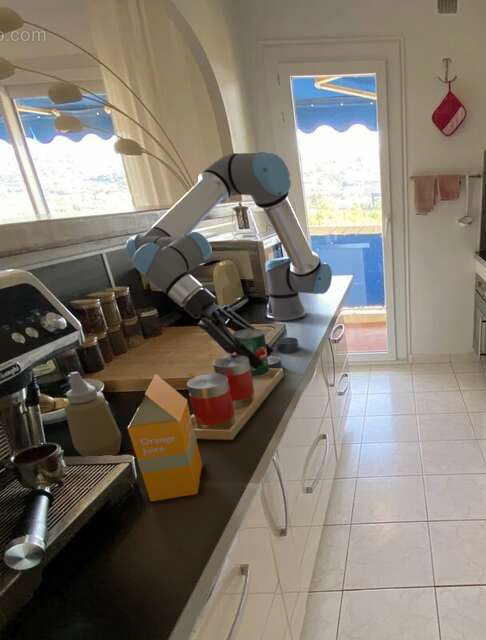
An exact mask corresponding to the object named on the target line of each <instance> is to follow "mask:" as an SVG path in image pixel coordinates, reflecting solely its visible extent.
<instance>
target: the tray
mask: <svg viewBox="0 0 486 640" xmlns="http://www.w3.org/2000/svg"><path fill="white" fill-rule="evenodd" d="M284 376H285V375H284V369H283V368H282V369H271V368H269V373H267V374H266V375H264V376H260V377H255V378H252V381H253V387H254V394H255V400H254V401H253V402H252V403H251V405H250V406H248V407H245V408H241V409H234V415H235V420H236V422H235V424H234V425H233V426H232V427H231V428H230V429H229V430H216V429H198V428H197V424H196V421H195V417H194V413H193V414H192V415H190V416H191V420H192V424H193V428H194V432H195V436H196V439H197V440H199V439H200V440H201V439H203V440H228V441H229V440H230V441H232V440H234V438H235V437H236V436H237V434H238V433H239V432H240V431H241V429H243V427H244V426H245V425H246V424H247V422H248V421H249V420H250V419H251V417H252V416H253V414H254V413H255V412H256V411H257V410H258V408H259V407H260V406H261V404H262V403H263V402H264V401H265V400H266V398H267V397H268V396H269V395H270V394H271V392H272V391H273V389H274V388H275V387H276V386H277V385H278V384H279V382H280V381H281V379H283V377H284Z"/></svg>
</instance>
